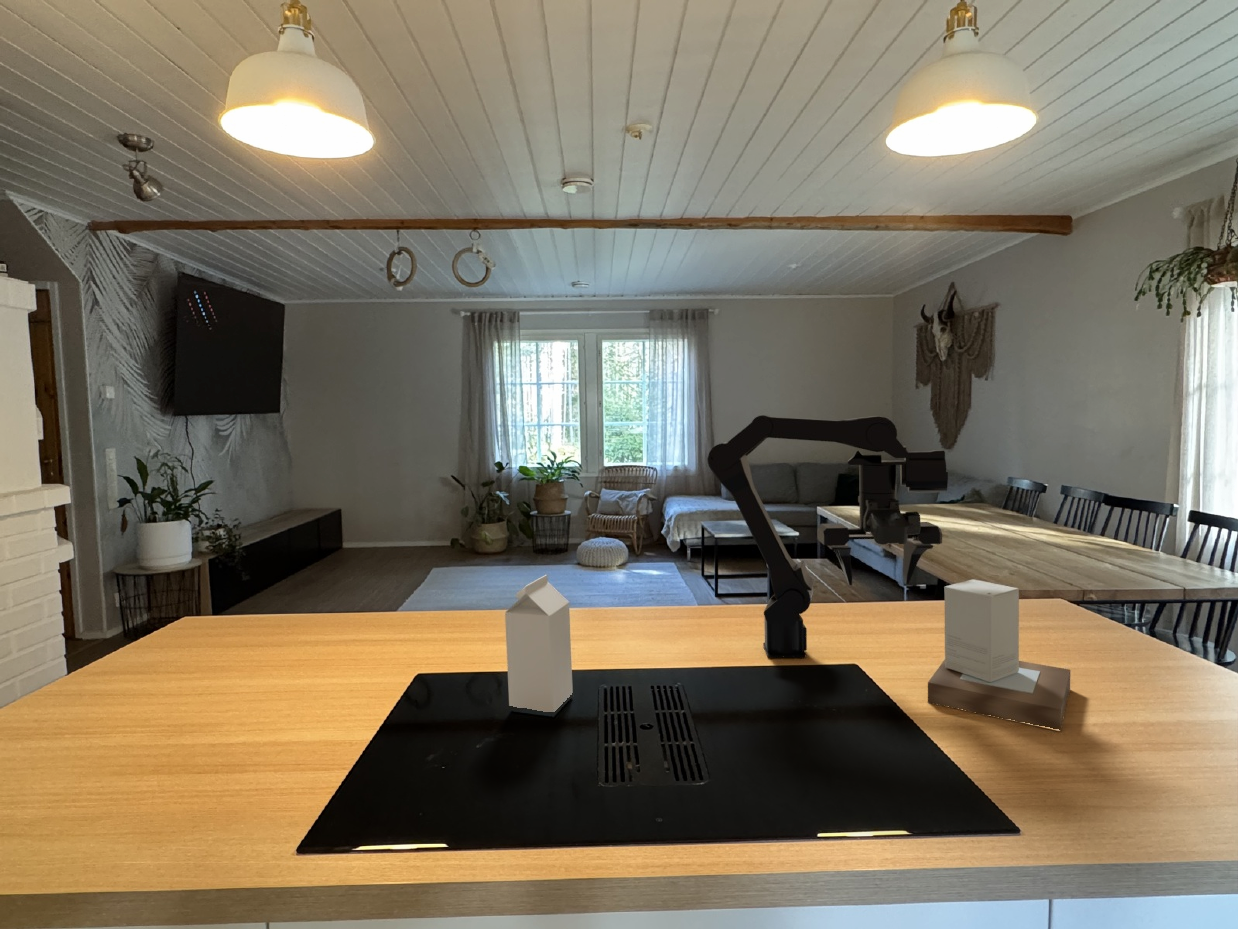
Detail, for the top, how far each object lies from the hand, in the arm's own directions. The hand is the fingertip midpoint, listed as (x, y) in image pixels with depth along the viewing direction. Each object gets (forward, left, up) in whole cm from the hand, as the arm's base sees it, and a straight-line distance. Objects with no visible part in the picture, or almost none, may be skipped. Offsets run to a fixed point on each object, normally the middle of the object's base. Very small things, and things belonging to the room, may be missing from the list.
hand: (878, 584), depth 112 cm
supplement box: (+11, -12, -10) cm, 19 cm away
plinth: (+13, -14, -13) cm, 23 cm away
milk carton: (-54, -18, -13) cm, 58 cm away
